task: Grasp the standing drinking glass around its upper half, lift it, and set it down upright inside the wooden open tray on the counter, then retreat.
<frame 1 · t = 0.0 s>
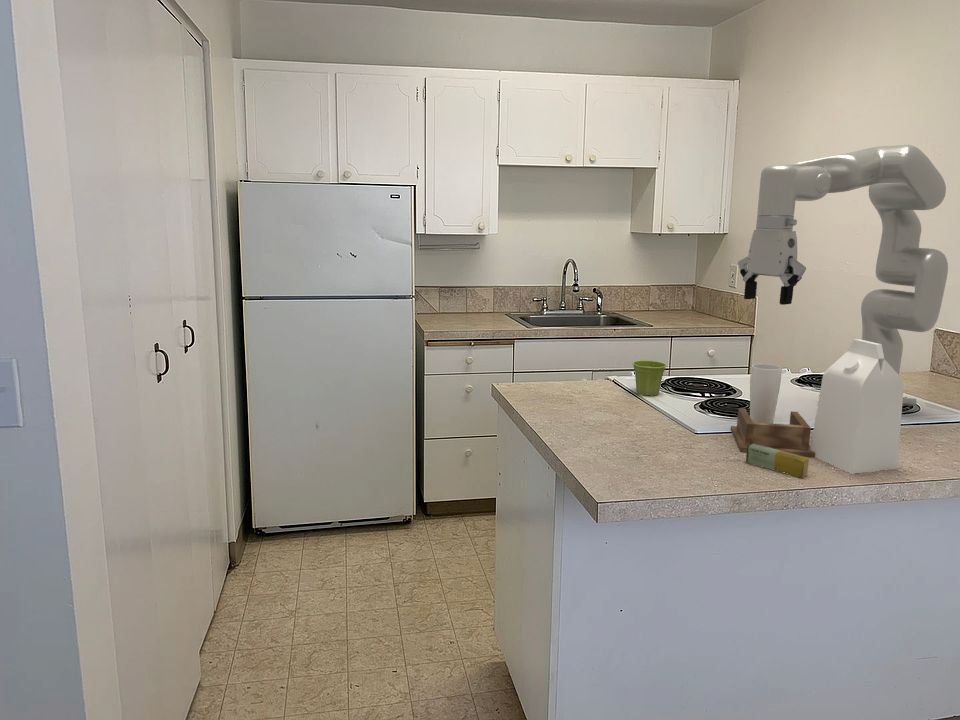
hand: (767, 301, 162), 31 cm above the countertop, tool pointing down, fingers open, 9 cm apart
milk: (851, 464, 151), on the countertop, touching wooden open tray
plant pot: (647, 394, 204), on the countertop
drinking glass: (760, 427, 174), on the countertop
medication box: (775, 470, 147), on the countertop
wooden open tray: (770, 442, 163), on the countertop
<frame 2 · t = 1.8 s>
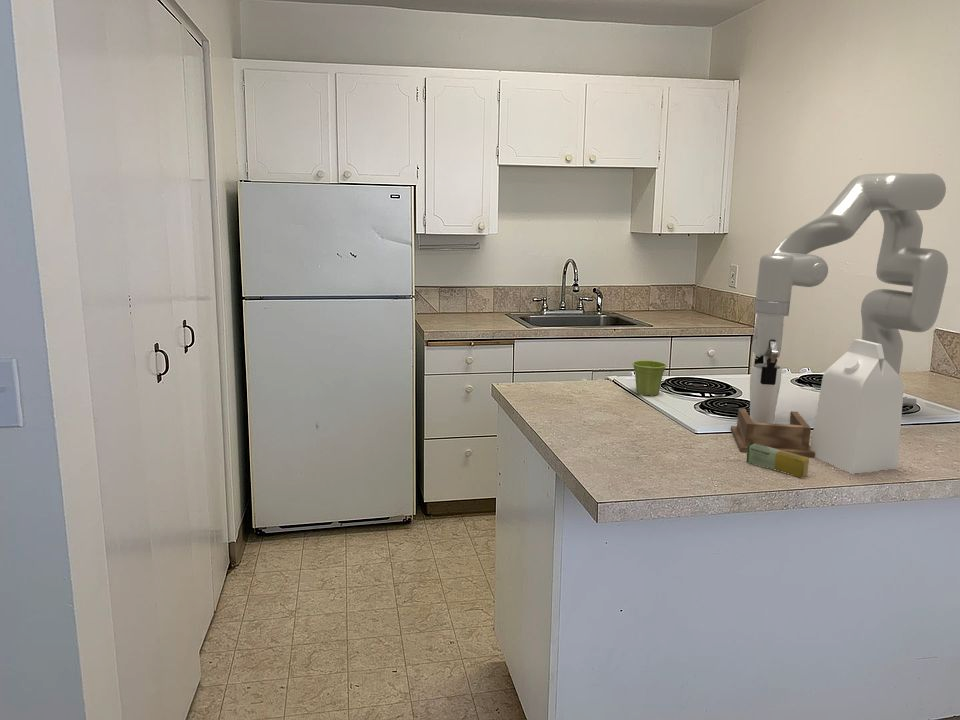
hand: (763, 379, 171), 12 cm above the countertop, tool pointing down, fingers open, 9 cm apart
nothing on the countertop moved.
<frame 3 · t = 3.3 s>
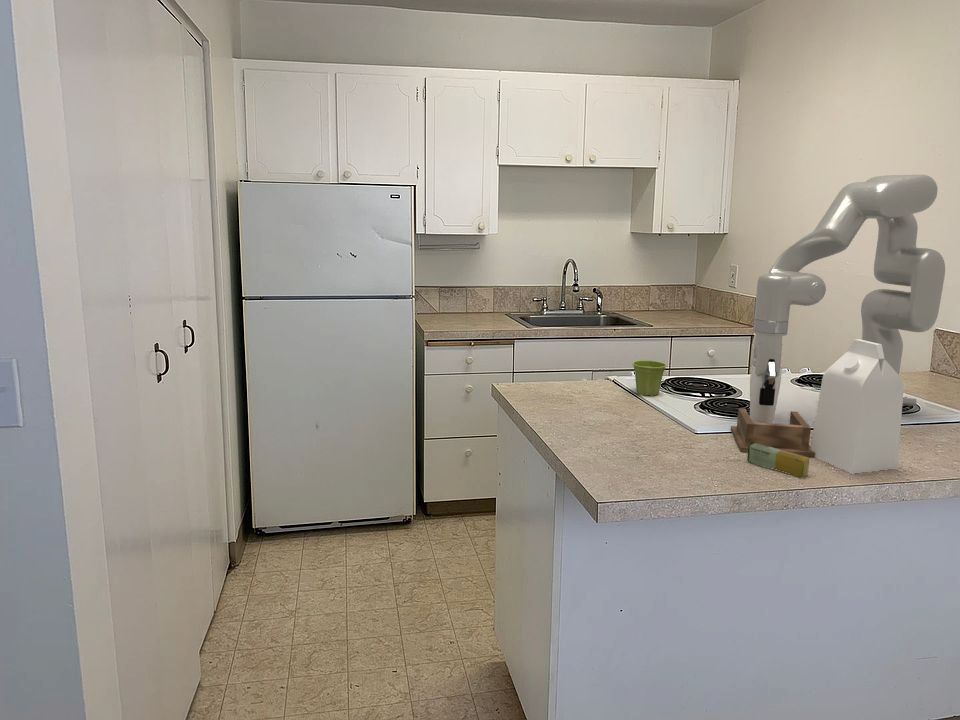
hand: (763, 400, 173), 7 cm above the countertop, tool pointing down, fingers closed on drinking glass, 6 cm apart
drinking glass: (760, 427, 174), on the countertop, touching gripper
everything else where it was.
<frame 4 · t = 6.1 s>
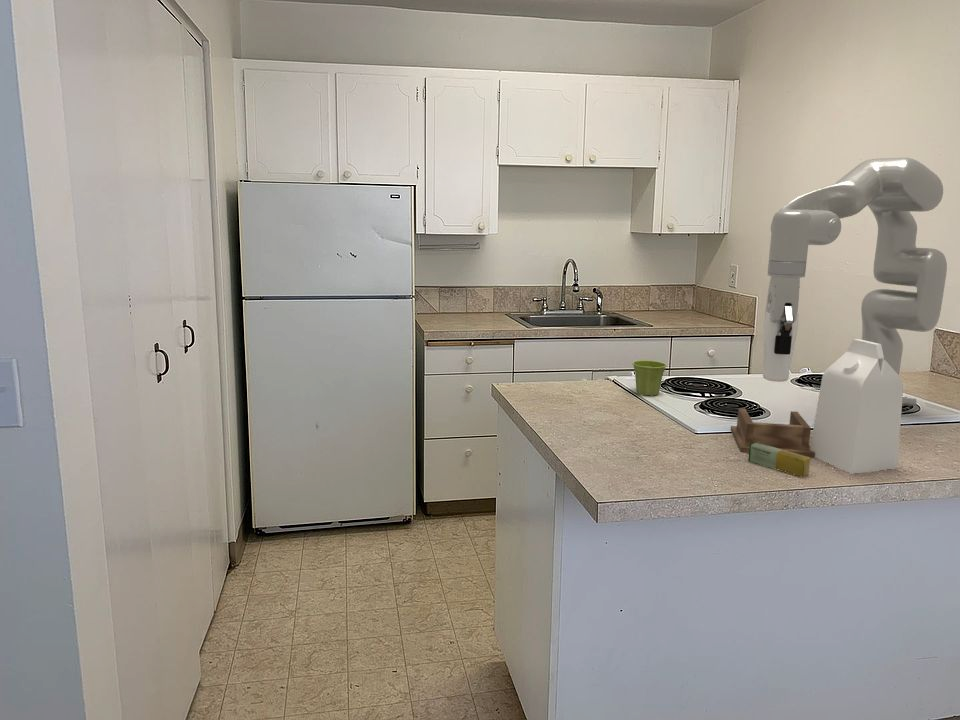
hand: (778, 350, 159), 21 cm above the countertop, tool pointing down, fingers closed on drinking glass, 6 cm apart
drinking glass: (775, 380, 161), point 14 cm above the countertop, touching gripper
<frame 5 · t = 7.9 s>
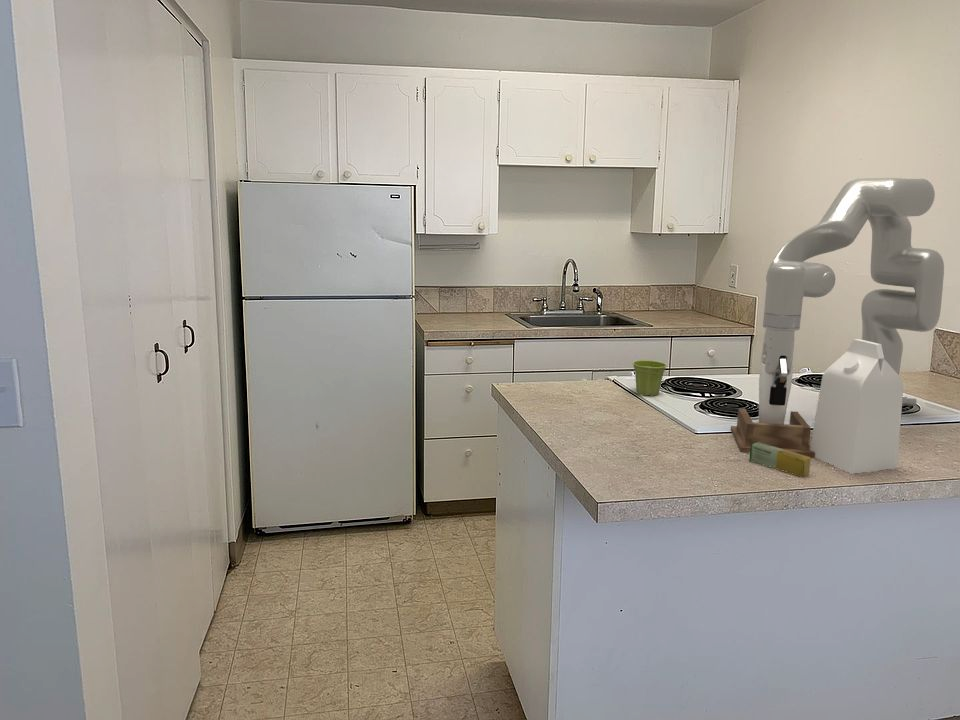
hand: (773, 399, 162), 10 cm above the countertop, tool pointing down, fingers closed on drinking glass, 6 cm apart
drinking glass: (770, 429, 163), point 3 cm above the countertop, touching gripper
when the fingers open (9 cm above the countertop, at t = 9.1 s): drinking glass drops 1 cm, resting on wooden open tray.
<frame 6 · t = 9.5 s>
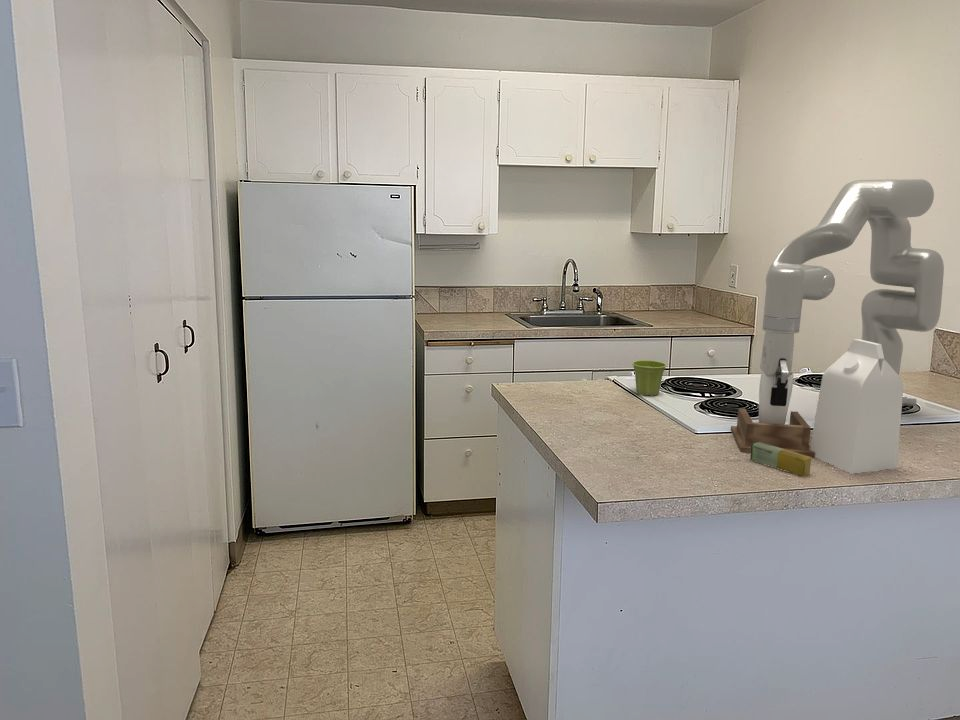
hand: (773, 399, 162), 10 cm above the countertop, tool pointing down, fingers open, 9 cm apart
drinking glass: (769, 437, 164), point 1 cm above the countertop, touching wooden open tray
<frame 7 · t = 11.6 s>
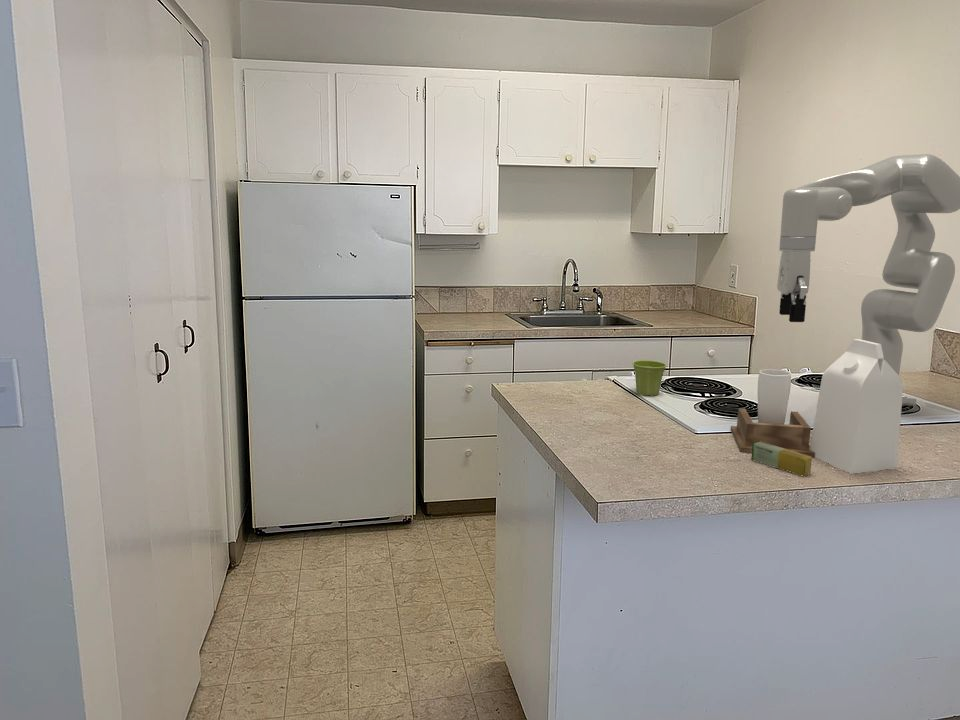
hand: (791, 318, 169), 27 cm above the countertop, tool pointing down, fingers open, 9 cm apart
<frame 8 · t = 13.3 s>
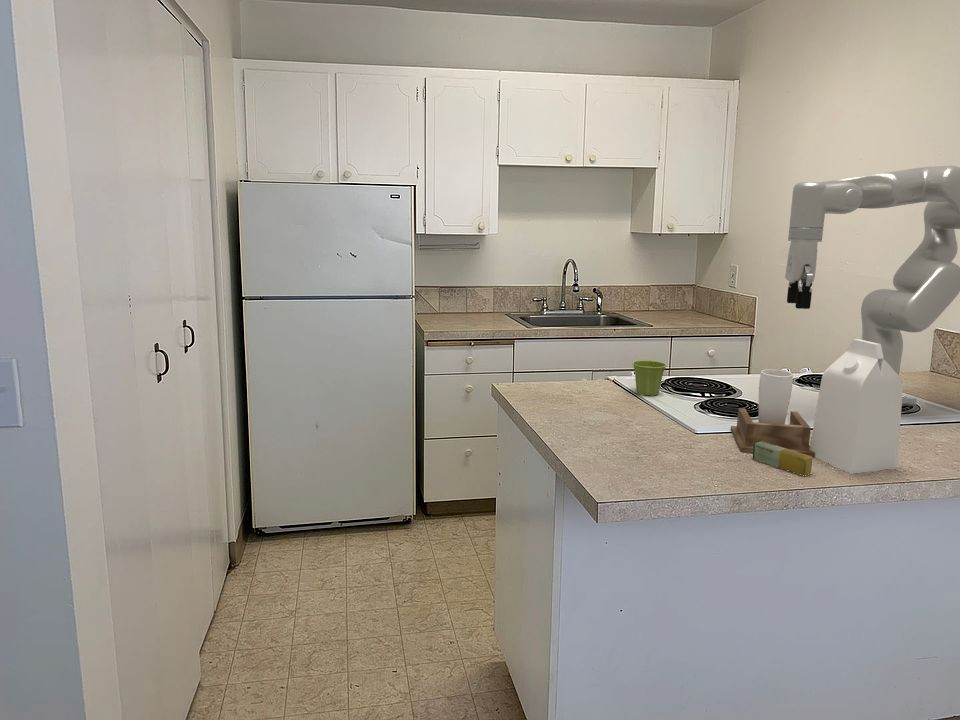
hand: (797, 305, 177), 28 cm above the countertop, tool pointing down, fingers open, 9 cm apart
at the end: drinking glass inside the target area on the wooden open tray (0.7 cm from its centre), point 0.8 cm above the wooden open tray's base; drinking glass tilted 1°; the gripper is holding nothing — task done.
